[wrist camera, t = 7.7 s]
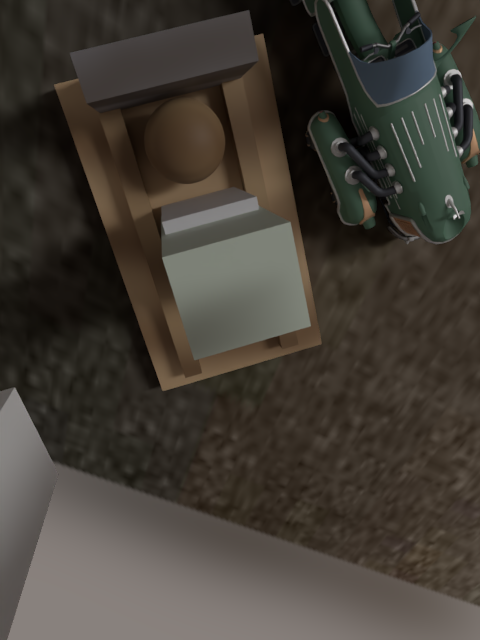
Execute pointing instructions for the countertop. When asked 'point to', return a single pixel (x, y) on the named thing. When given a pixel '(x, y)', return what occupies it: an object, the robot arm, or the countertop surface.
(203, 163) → the walnut
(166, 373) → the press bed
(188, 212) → the block
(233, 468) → the countertop surface
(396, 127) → the hoverbike
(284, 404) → the countertop surface
